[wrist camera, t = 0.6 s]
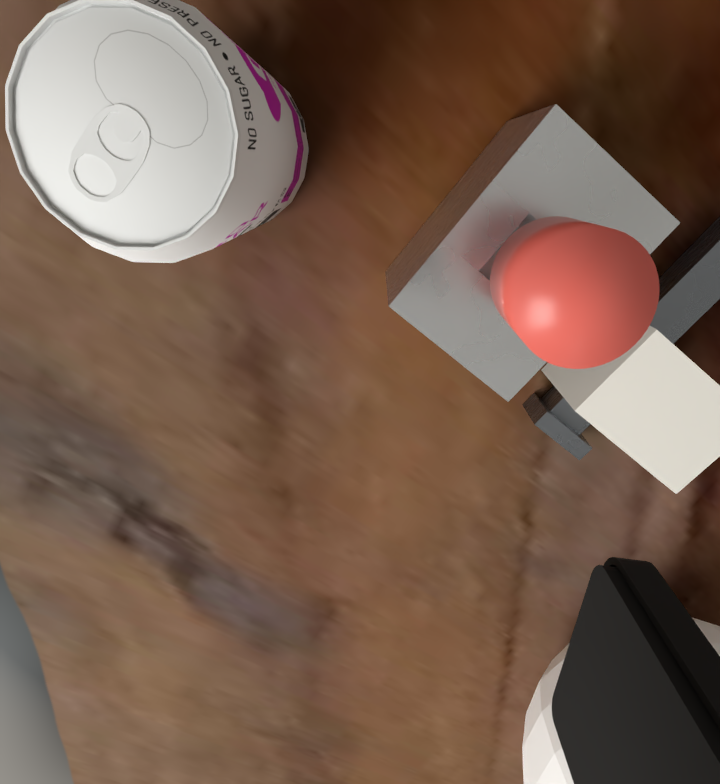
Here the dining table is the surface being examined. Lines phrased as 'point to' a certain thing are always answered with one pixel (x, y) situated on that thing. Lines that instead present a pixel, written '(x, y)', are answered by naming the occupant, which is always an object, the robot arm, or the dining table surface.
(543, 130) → the grey box
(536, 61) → the dining table surface
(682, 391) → the carriage
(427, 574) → the dining table surface
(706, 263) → the rail
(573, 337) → the button
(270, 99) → the supplement can
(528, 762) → the pitcher
